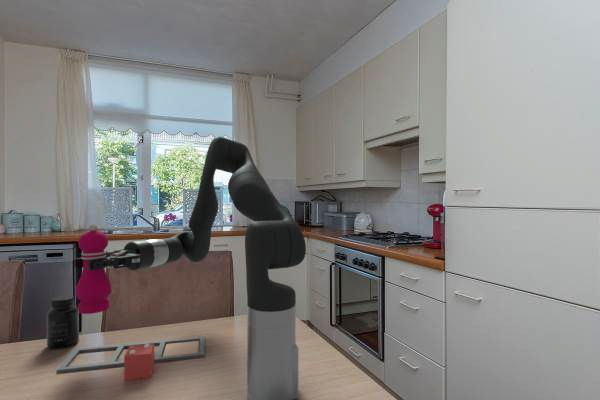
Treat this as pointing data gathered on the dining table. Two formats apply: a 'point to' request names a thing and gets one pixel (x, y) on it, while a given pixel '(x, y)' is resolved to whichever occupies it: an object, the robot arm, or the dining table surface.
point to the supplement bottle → (62, 323)
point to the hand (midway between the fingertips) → (82, 264)
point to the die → (139, 362)
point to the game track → (172, 350)
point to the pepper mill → (93, 273)
